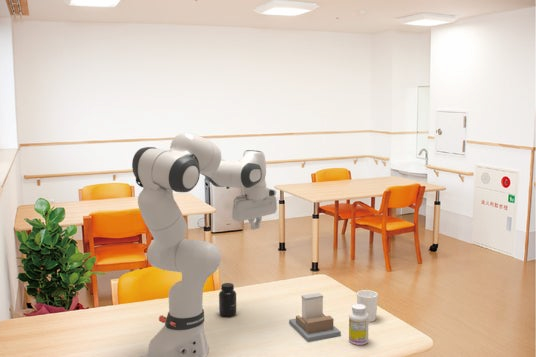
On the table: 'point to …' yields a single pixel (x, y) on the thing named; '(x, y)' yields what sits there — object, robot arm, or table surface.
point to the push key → (312, 306)
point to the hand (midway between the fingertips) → (255, 228)
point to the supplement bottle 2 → (358, 325)
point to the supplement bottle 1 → (227, 300)
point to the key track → (314, 335)
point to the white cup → (368, 302)
